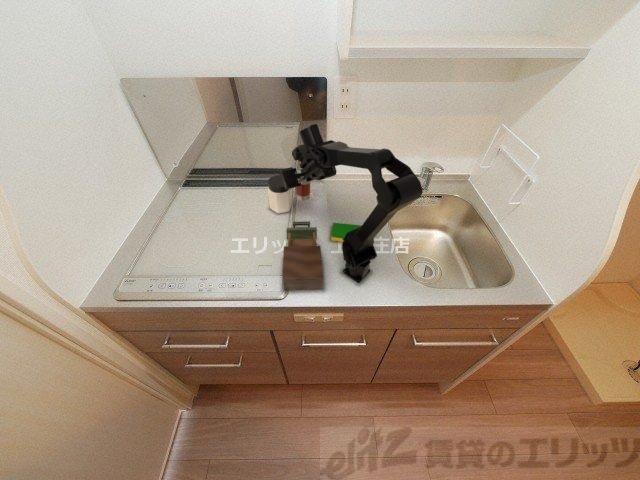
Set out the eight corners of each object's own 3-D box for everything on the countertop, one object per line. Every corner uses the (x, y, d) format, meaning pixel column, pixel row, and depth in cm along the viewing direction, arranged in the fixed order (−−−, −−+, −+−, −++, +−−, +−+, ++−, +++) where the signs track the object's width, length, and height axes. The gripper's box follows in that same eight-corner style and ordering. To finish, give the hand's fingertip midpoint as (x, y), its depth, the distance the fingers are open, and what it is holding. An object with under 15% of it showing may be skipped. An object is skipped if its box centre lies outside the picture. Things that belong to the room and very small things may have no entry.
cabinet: (284, 258, 88) (283, 246, 83) (319, 257, 89) (320, 245, 84) (283, 290, 79) (282, 278, 75) (322, 289, 80) (323, 277, 76)
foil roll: (313, 196, 100) (313, 172, 93) (303, 203, 97) (303, 179, 90) (302, 191, 102) (302, 167, 95) (293, 197, 99) (291, 173, 92)
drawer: (287, 228, 97) (286, 219, 94) (315, 227, 97) (315, 218, 94) (286, 261, 86) (285, 252, 83) (318, 260, 86) (318, 252, 83)
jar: (288, 215, 103) (286, 189, 94) (267, 212, 104) (264, 186, 95) (294, 201, 109) (293, 175, 100) (274, 198, 110) (272, 172, 101)
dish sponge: (370, 245, 94) (371, 240, 92) (331, 240, 94) (331, 235, 93) (370, 231, 98) (371, 226, 97) (332, 226, 99) (333, 222, 97)
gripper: (334, 134, 84) (316, 152, 99) (280, 146, 77) (268, 163, 92) (346, 168, 85) (326, 181, 99) (293, 183, 78) (280, 195, 92)
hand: (301, 179), depth 96 cm, fingers closed on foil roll, 5 cm apart
